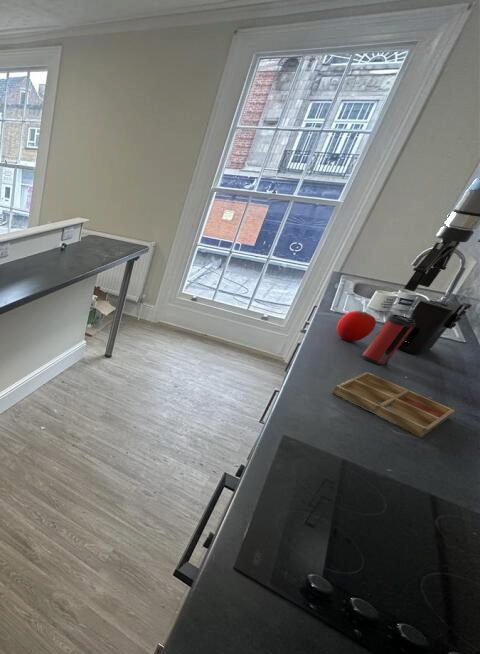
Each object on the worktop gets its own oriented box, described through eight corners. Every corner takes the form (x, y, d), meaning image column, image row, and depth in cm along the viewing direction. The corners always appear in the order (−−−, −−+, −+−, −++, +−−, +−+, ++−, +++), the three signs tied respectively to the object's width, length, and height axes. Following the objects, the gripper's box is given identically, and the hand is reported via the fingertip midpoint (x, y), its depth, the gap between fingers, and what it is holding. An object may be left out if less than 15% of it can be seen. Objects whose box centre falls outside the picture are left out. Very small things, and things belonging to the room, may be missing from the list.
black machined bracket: (385, 345, 166) (421, 296, 155) (404, 337, 175) (439, 290, 164) (422, 359, 157) (463, 309, 146) (440, 350, 167) (479, 301, 155)
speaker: (369, 363, 151) (399, 321, 141) (355, 353, 157) (384, 312, 148) (391, 367, 150) (423, 324, 140) (377, 356, 156) (407, 315, 147)
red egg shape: (334, 330, 175) (350, 304, 168) (365, 341, 168) (384, 313, 161) (327, 337, 168) (345, 309, 162) (360, 348, 161) (379, 320, 155)
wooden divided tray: (448, 418, 123) (455, 410, 122) (420, 437, 113) (428, 429, 112) (361, 379, 140) (367, 371, 138) (331, 393, 130) (336, 385, 128)
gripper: (456, 223, 140) (416, 280, 151) (430, 226, 129) (388, 287, 140) (486, 229, 134) (442, 288, 145) (462, 232, 123) (416, 295, 134)
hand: (416, 287), depth 143 cm, fingers open, 13 cm apart
